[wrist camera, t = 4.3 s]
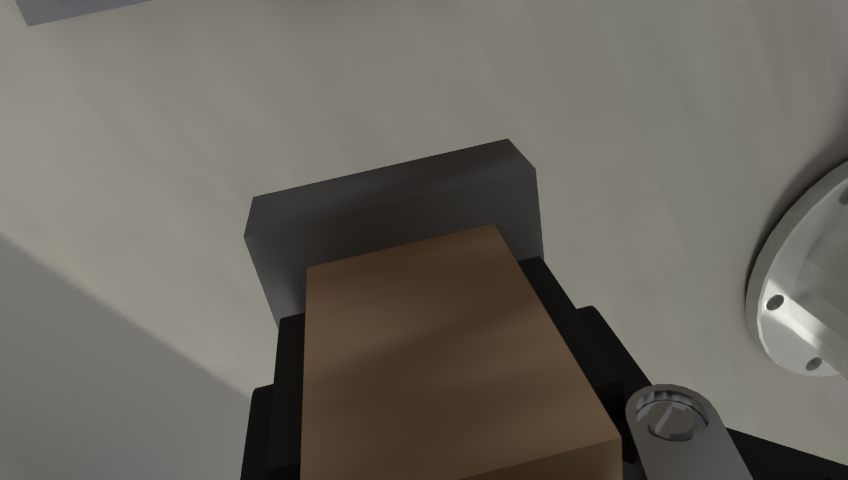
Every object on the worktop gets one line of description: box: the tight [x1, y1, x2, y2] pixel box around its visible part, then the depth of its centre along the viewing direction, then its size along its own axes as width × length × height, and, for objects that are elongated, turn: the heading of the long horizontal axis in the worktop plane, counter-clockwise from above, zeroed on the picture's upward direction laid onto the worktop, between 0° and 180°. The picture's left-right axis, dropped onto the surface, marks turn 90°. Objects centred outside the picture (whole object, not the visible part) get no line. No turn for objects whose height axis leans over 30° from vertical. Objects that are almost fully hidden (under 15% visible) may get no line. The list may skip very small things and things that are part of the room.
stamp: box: [244, 139, 623, 480], centre depth 11 cm, size 6×6×10 cm
